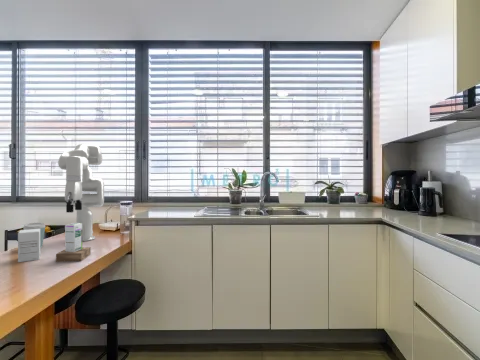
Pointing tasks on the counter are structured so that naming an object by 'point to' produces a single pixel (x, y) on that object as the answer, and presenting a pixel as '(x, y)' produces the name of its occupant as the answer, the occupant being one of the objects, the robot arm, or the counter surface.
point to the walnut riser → (73, 255)
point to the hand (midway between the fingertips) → (74, 211)
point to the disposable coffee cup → (36, 226)
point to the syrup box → (73, 237)
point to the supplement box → (28, 245)
